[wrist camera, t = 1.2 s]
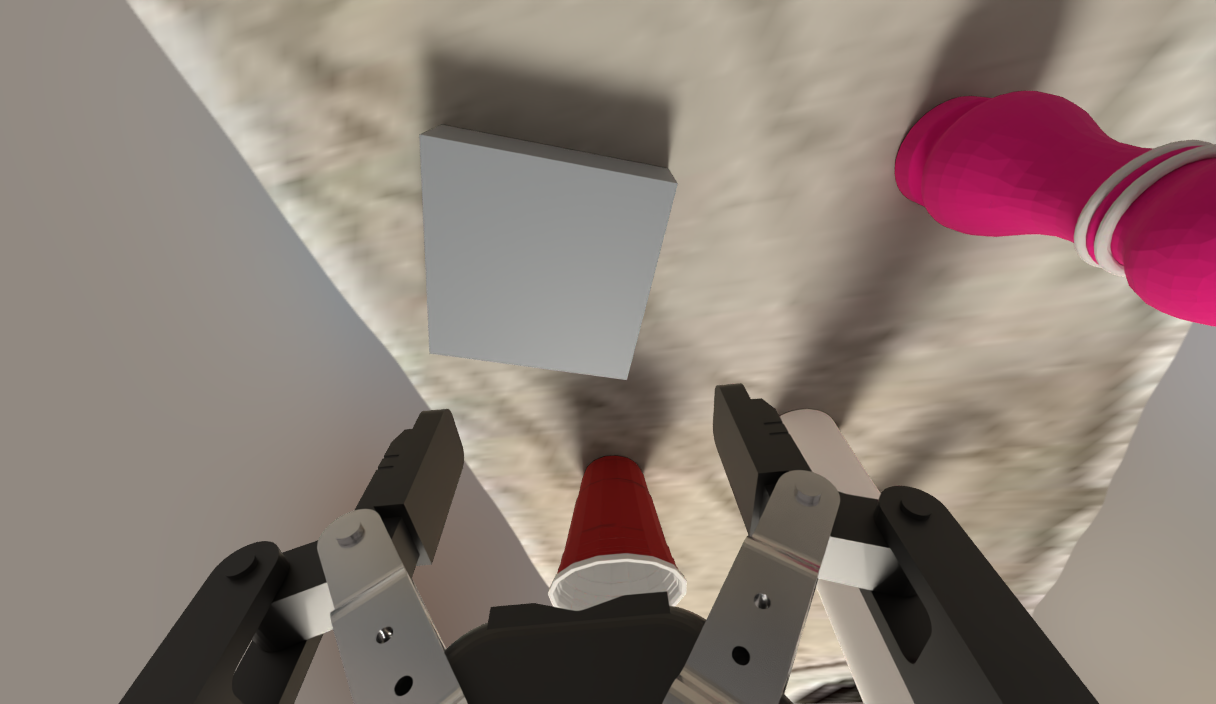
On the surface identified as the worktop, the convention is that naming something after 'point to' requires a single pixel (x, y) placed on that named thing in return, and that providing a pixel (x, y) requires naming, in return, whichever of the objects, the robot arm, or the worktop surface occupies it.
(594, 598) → the plastic cup
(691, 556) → the worktop surface
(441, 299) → the slate plinth
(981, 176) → the pepper mill
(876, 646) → the cylindrical container
